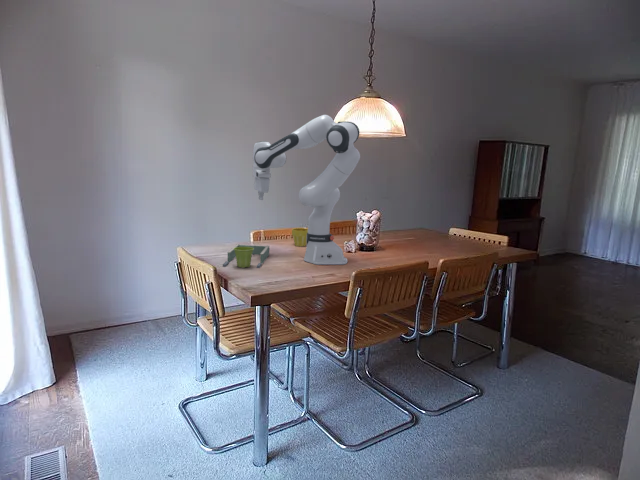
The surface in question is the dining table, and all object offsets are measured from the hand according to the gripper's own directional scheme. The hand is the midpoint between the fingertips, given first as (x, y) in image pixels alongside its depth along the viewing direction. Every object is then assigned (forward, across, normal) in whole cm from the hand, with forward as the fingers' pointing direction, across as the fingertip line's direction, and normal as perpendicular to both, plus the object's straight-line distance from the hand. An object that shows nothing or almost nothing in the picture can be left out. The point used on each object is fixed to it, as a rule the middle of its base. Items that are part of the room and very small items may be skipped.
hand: (260, 199), depth 230 cm
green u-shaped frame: (+29, +10, -8) cm, 32 cm away
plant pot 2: (+29, -17, +28) cm, 44 cm away
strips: (+29, +25, -14) cm, 40 cm away
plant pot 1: (+29, +26, -13) cm, 41 cm away
